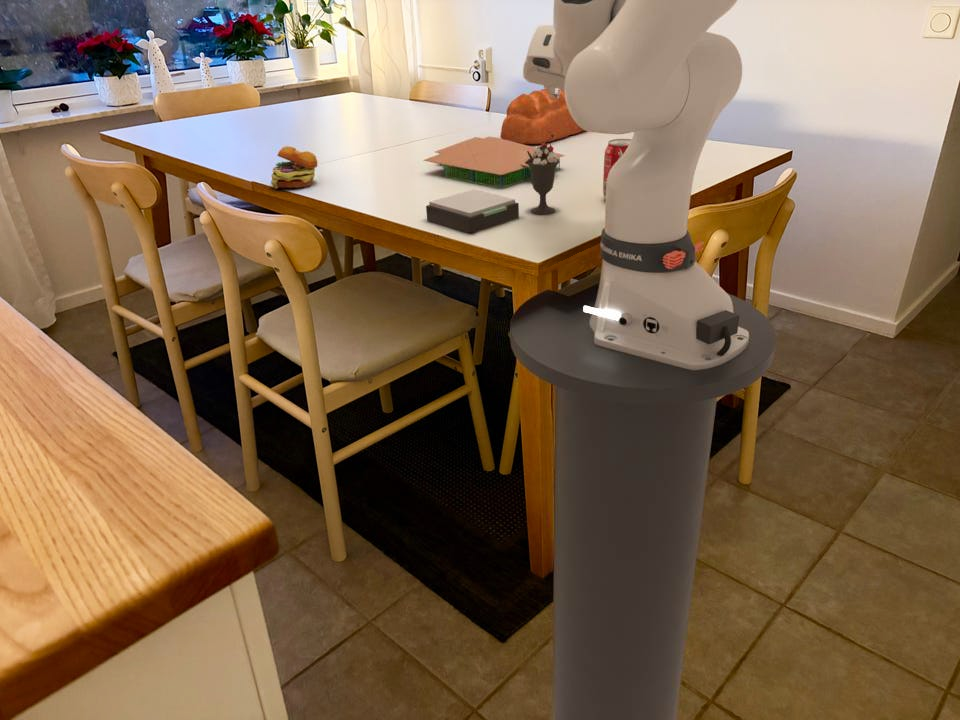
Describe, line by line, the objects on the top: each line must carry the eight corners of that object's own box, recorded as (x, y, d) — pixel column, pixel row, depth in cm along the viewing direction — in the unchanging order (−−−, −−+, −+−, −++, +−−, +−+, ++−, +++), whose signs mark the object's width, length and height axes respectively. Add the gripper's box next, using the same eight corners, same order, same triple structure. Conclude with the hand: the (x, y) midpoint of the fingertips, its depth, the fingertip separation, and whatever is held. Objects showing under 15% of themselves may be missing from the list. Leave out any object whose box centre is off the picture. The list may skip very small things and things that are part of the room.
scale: (519, 218, 146) (519, 199, 145) (471, 234, 139) (470, 214, 137) (474, 206, 155) (473, 188, 153) (426, 220, 147) (425, 201, 146)
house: (510, 191, 164) (510, 153, 160) (412, 170, 185) (409, 137, 181) (573, 170, 179) (574, 135, 175) (475, 153, 199) (474, 122, 195)
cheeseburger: (263, 184, 178) (265, 142, 175) (304, 187, 184) (307, 146, 181) (279, 192, 170) (282, 147, 167) (322, 194, 177) (325, 152, 173)
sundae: (566, 210, 150) (567, 134, 143) (544, 217, 146) (544, 140, 139) (541, 204, 154) (541, 130, 147) (519, 211, 150) (518, 136, 143)
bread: (494, 141, 212) (493, 93, 206) (557, 123, 233) (557, 79, 227) (538, 147, 203) (538, 97, 197) (599, 127, 224) (601, 82, 218)
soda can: (643, 198, 155) (647, 140, 149) (624, 206, 150) (627, 146, 145) (615, 193, 159) (617, 136, 154) (595, 201, 155) (597, 142, 149)
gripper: (648, 48, 120) (640, 98, 133) (529, 23, 124) (533, 74, 137) (637, 81, 119) (630, 128, 132) (517, 55, 123) (522, 103, 136)
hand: (580, 101), depth 135 cm, fingers open, 8 cm apart
